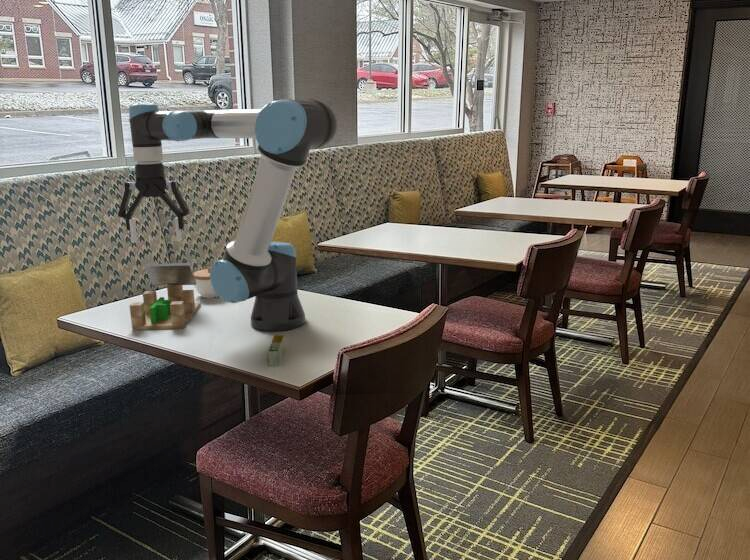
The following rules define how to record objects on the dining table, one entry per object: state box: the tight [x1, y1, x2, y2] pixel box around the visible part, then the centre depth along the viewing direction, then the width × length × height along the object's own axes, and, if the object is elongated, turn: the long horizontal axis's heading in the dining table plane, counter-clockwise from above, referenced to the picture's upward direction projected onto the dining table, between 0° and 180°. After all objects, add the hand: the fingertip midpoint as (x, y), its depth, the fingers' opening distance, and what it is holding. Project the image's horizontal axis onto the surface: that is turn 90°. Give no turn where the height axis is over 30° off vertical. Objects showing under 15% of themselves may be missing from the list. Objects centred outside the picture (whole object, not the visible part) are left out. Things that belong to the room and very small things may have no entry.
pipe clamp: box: [150, 296, 171, 323], centre depth 195 cm, size 11×4×5 cm, turn 2°
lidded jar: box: [193, 266, 219, 299], centre depth 220 cm, size 11×11×9 cm
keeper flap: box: [144, 262, 196, 287], centre depth 203 cm, size 13×9×1 cm
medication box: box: [267, 334, 285, 367], centre depth 165 cm, size 12×3×4 cm, turn 1°
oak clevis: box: [129, 285, 201, 330], centre depth 198 cm, size 14×22×7 cm, turn 2°
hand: (157, 241), depth 190 cm, fingers open, 12 cm apart
